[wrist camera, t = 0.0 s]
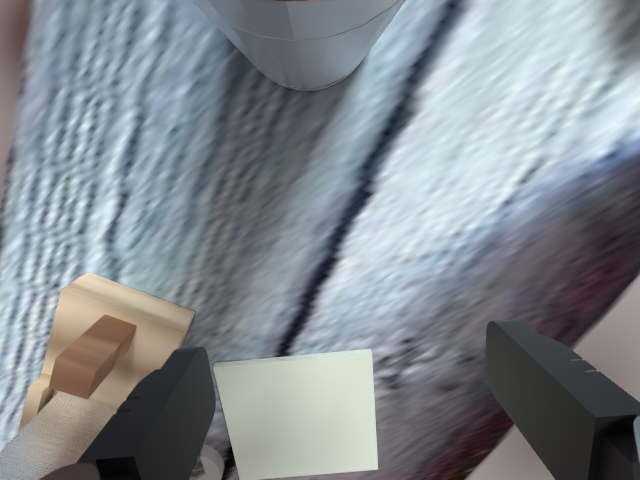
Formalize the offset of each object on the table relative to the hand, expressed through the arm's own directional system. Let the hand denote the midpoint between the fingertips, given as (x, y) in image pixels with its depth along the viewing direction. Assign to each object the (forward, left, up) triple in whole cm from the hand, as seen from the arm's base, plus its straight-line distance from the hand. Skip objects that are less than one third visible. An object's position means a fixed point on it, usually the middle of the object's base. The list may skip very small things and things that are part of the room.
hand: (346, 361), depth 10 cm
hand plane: (+15, -21, -17) cm, 31 cm away
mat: (+20, -4, -17) cm, 26 cm away
